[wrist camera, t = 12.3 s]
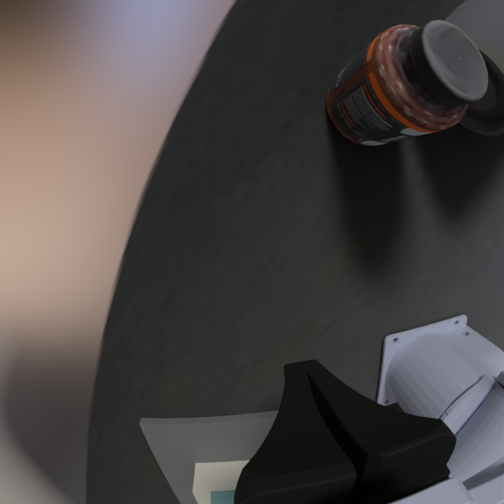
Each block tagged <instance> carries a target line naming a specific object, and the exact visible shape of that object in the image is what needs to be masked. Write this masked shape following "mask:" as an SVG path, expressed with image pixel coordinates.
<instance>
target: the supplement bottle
mask: <svg viewBox="0 0 504 504" xmlns="http://www.w3.org/2000/svg"><path fill="white" fill-rule="evenodd" d="M487 87H488V73H487V68H486V65H485V62H484V59H483V57H482V55H481V53H480V51H479V50H478V48H477V47H476V45H475V44H474V43H473V41H472V40H471V39H470V38H469V37H468V36H467V35H466V34H465V33H464V32H463V31H461V30H460V29H459V28H458V27H456V26H455V25H453V24H450V23H448V22H446V21H441V20H436V21H431V22H429V23H427V24H426V25H424V26H423V27H417V26H414V25H397V26H394V27H391V28H389V29H387V30H386V31H384V32H383V33H381V34H380V35H379V36H378V37H377V38H376V39H375V40H373V41H372V42H371V43H370V44H369V45H368V46H367V47H366V48H365V49H364V50H363V51H362V52H361V53H359V54H358V55H357V56H356V57H355V58H354V59H353V60H352V61H351V62H350V63H349V64H348V65H347V66H346V67H345V68H344V69H343V70H342V71H341V72H340V73H339V74H338V75H337V76H336V77H335V79H334V80H333V81H332V83H331V85H330V86H329V89H328V92H327V101H326V102H327V110H328V114H329V116H330V118H331V121H332V122H333V124H334V125H335V127H336V128H337V130H338V131H339V132H340V133H341V134H342V135H344V136H345V137H346V138H348V139H349V140H351V141H353V142H355V143H358V144H361V145H365V146H376V145H382V144H386V143H390V142H394V141H398V140H402V139H406V138H411V137H415V136H420V135H424V134H429V133H434V132H437V131H442V130H445V129H447V128H450V127H452V126H454V125H455V124H457V123H458V122H459V121H460V120H461V119H462V118H463V116H464V114H465V112H466V109H467V107H468V103H471V102H475V101H477V100H480V99H481V98H482V97H483V96H484V95H485V93H486V91H487Z"/></svg>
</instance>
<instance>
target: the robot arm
mask: <svg viewBox="0 0 504 504" xmlns="http://www.w3.org/2000/svg"><path fill="white" fill-rule="evenodd" d="M455 322H456V323H455ZM466 323H467V316H465V315H460V316H457V317H454V318H450V319H447V320H444V321H440V322H437V323H433V324H430V325H426V326H423V327H419V328H415V329H411V330H408V331H404V332H400V333H396V334H392V335H388V336H387V337H386V338H385V339H384V344H383V355H382V364H381V373H380V380H379V388H378V395H377V401H376V402H375V401H373V400H371V399H369V398H367V397H365V396H363V395H361V394H359V393H358V392H356V391H355V390H353V389H352V388H350V387H349V386H347V385H346V384H345V383H343V382H342V381H341V380H339V379H338V378H337V377H335V376H334V375H333V374H332V373H331V372H329V371H328V370H327V369H326V368H325V367H324V366H323V365H321V364H320V363H319V362H318V361H317V360H316V359H315V360H309V361H303V362H297V363H290V364H286V365H285V366H284V375H285V386H284V392H283V397H282V400H281V404H280V407H279V410H278V413H277V416H276V418H275V421H274V423H273V425H272V427H271V429H270V431H269V433H268V435H267V437H266V438H265V440H264V441H263V443H262V444H261V446H260V447H259V449H258V450H257V452H256V453H255V454H254V456H253V457H252V458H251V459H250V460H249V462H248V463H247V464H246V465H245V466H244V467H243V468H242V471H241V474H240V476H239V479H238V482H237V485H236V489H235V493H234V504H504V352H503V351H502V350H501V349H499V348H498V347H497V346H495V345H494V344H492V343H491V342H490V341H488V340H487V339H485V338H484V337H483V336H481V335H480V334H478V333H477V332H475V331H474V330H473V329H471V328H470V327H468V326H467V325H466ZM395 338H396V340H395V341H393V340H394V339H395ZM386 400H387V401H386ZM396 402H397V403H398V404H399V405H400V407H401V408H402V410H403V411H404V412H405V413H404V412H401V411H398V410H395V409H392V408H389V407H387V406H386V405H389V404H393V403H396Z"/></svg>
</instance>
